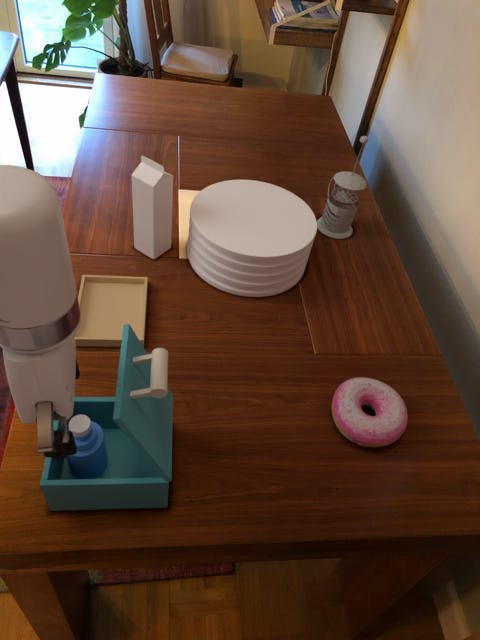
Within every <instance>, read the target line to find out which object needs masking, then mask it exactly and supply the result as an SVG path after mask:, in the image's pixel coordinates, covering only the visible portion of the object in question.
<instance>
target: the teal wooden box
mask: <svg viewBox="0 0 480 640" xmlns="http://www.w3.org/2000/svg"><path fill="white" fill-rule="evenodd" d="M114 405H115V396H74V410H73V415H72V416H71V417H70V418H69V419H68V427H69V422H70V420H71V419H72V418H73V417H74V416H76V415H86V416H87V417H89V419H90V421H92V422H95V423H96V424H98V425H99V426H100V427H101V429H102V431H103V434H104V440H105V447H106V453H107V459H108V463H107V467H106V469H105V471H104V472H103V473H102V474H101V475H100V476H99V477H98V478H96V479H77V478H75V477H74V476H73V475H72V474H71V472H70V468H69V465H68V462H67V458H62V459H52V458H51V457H45V458H44V463H43V468H42V473H41V477H40V478H41V479H40V483H39V487H40V489H41V492H42V494H43V496H44V499H45V501H46V503H47V506H48V508H49V510H50V512H57V511H58V512H59V511H89V510H90V511H91V510H92V511H93V510H123V509H124V510H129V509H157V508H158V509H159V508H160V509H161V508H168V504H169V488H170V487H169V486H170V485H169V484H170V481H168V482H166V481H165V480H164V479H163V478H162V476H161V475H160V474H159V473H158V472H157V471H156V469H155V468H154V467H153V466H152V465H151V464H150V462H149V461H148V460H147V459H146V458H145V457H144V455H143V454H142V453H141V452H140V451H139V450H138V448H137V447H136V446H135V445H134V444H133V442H132V441H131V440H130V439H129V438H128V437H127V435H126V434H125V433H124V432H123V431H122V430H121V428H120V427H119V426H118V425H117V424H116V423H115V421H114V420H113V413H114ZM55 430H61V421H60V420H54V431H55Z"/></svg>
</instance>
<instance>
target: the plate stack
mask: <svg viewBox="0 0 480 640" xmlns="http://www.w3.org/2000/svg"><path fill="white" fill-rule="evenodd" d="M188 221H189V222H188V224H189V225H188V237H187V239H188V240H187V258H188V261H189V264H190V266H191V268H192V269H193V270H194V272H195V273H196V274H197V275H198V276H199V277H200V278H201V279H202V280H203V281H204V282H206V283H207V284H209V285H210V286H212V287H214V288H216V289H218V290H220V291H223V292H225V293H228V294H231V295H235V296H240V297H248V298H263V297H270V296H275V295H278V294H282V293H284V292H286V291H289V290H290V289H292V288H293V287H295V285H297V284H298V283H299V282H300V280H301V279H302V277H303V275H304V273H305V270H306V266H307V264H308V260H309V258H310V254H311V251H312V248H313V244H314V241H315V238H316V234H317V232H318V228H317V218H316V215H315V213H314V211H313V210H312V209H311V207H310V206H309V205H308V204H307V203H306V202H305V200H303V199H302V198H300V196H297V195H296V194H294V193H293V192H292V191H290V190H287V189H286V188H283V187H281V186H278V185H276V184H272V183H270V182H269V183H268V182H265V181H260V180H252V179H229V180H223V181H219V182H215V183H213V184H210V185H208V186H206V187H204V188H202V189H201V190H200V191H199V192H197V194H196V195H195V196H194V198H193V199H192V201H191V204H190V208H189V220H188Z"/></svg>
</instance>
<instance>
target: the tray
mask: <svg viewBox="0 0 480 640" xmlns="http://www.w3.org/2000/svg"><path fill="white" fill-rule="evenodd" d="M81 275H82V276H81V279H80V285H79V290H78V294H77V296H78V301H79V306H80V311H81V324H80V327H79V329H78V330H77V332H76V334H75V342H76V347H105V348H106V347H109V348H111V347H112V348H121V343H122V334H123V325H125V324H130V326H131V327H132V329H133V331H134V332H135V334H136V336H137V337H138V339H139V340H140V342H141V344H142V345H143V347H144V348H145V337H146V335H145V333H146V319H147V301H148V289H149V288H148V285H149V283H148V282H149V280H148V279H149V278H148V276H128V275H127V276H123V275H99V274H98V275H97V274H81Z"/></svg>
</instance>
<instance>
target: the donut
mask: <svg viewBox="0 0 480 640" xmlns="http://www.w3.org/2000/svg"><path fill="white" fill-rule="evenodd" d="M363 406H367V407H370V408H371V409H372V410H373V411H374V413H375V415H369V414H367V413H366V412H364V411H363V409H362V407H363ZM406 406H407V405H406V403H405V401H404V399H403V398H402V396H401V395H400V394H399V393H398V392H397V391H396V390H395V389H394V388H392V387H391V386H390V385H388V384H386V383H385V382H383V381H380V380H378V379H375V378H371V377H364V376H363V377H362V376H360V377H359V376H358V377H352V378H350V379H347V380H344V381H343V382H342V383H340V384H339V385H338V387H337V388H336V389H335V392H334V394H333V395H332V400H331V407H330V408H331V409H330V410H331V414H332V419H333V421H334V424H335V427H336V428H337V430H338V431H339V432H340V434H342V435H343V436H344V437H345V438H346V440H349V441H350V442H352V443H354V444H356V445H358V446H362V447H366V448H380V447H385V446H389V445H391V444H393V443H395V442H397V441H398V440H399V439H400V437H401V436H402V435H403V434H404V432H405V431H406V428H407V425H408V419H409V418H408V417H409V416H408V409H407V407H406Z"/></svg>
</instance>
